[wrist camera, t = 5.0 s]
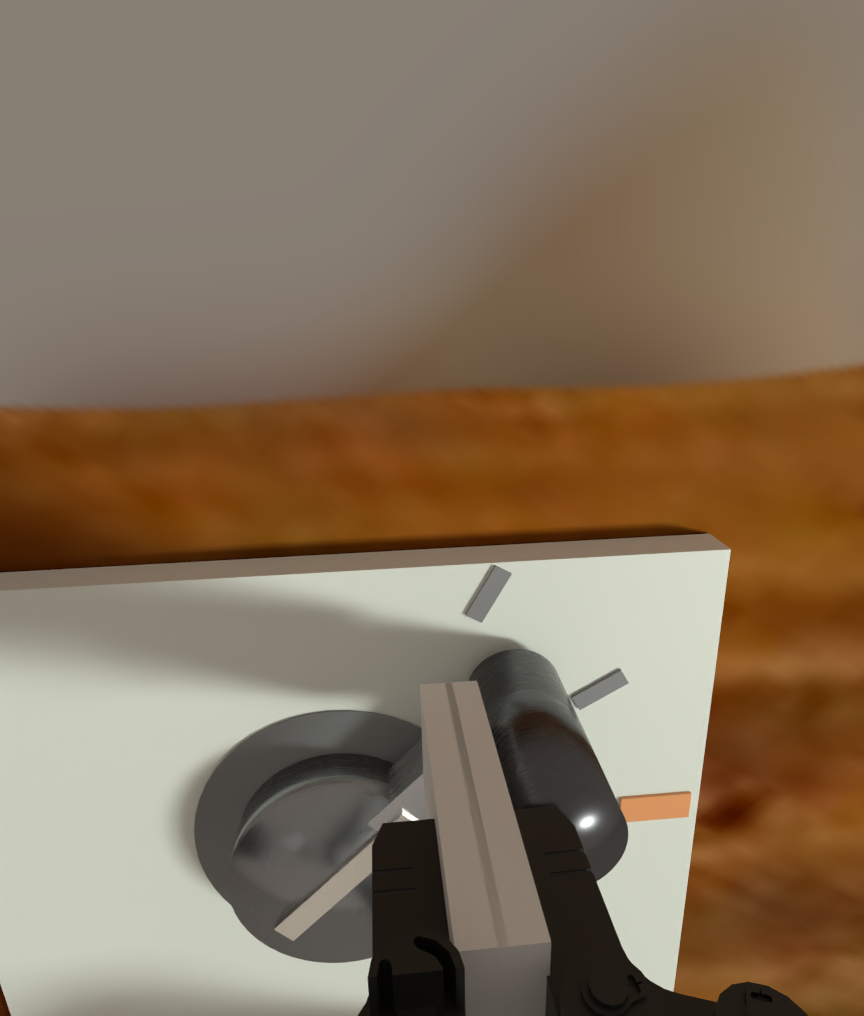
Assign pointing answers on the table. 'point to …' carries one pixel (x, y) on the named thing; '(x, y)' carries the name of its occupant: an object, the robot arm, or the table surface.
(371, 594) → the board
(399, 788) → the crank
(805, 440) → the table surface
